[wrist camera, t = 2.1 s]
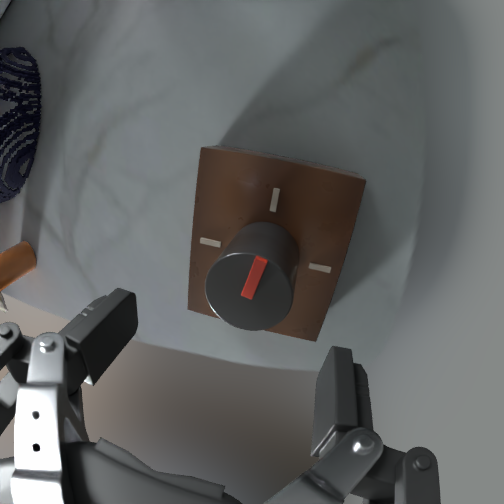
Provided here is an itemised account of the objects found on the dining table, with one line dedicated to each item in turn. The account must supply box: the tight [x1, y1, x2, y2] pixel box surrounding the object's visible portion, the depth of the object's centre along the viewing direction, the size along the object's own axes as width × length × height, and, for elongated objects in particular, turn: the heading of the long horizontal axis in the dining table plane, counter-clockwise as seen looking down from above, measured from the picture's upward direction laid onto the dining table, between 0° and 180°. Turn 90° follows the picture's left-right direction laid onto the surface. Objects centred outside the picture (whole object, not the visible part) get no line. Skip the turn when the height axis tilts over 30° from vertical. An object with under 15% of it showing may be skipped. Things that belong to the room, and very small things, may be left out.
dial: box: [205, 222, 299, 331], centre depth 16 cm, size 4×4×5 cm
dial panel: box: [188, 145, 366, 342], centre depth 20 cm, size 10×12×3 cm
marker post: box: [0, 241, 36, 291], centre depth 25 cm, size 4×4×8 cm
